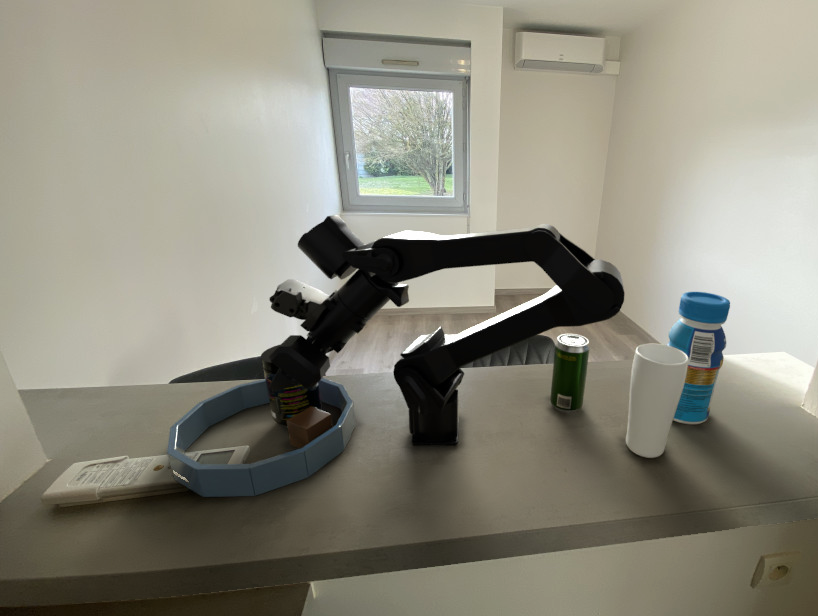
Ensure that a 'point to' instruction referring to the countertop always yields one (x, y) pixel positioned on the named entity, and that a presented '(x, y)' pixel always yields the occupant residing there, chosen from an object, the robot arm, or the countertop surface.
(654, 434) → the drinking glass
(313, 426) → the walnut block
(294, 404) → the supplement container
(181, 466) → the blue polygonal ring
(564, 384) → the beer can
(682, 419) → the beverage bottle
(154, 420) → the countertop surface
